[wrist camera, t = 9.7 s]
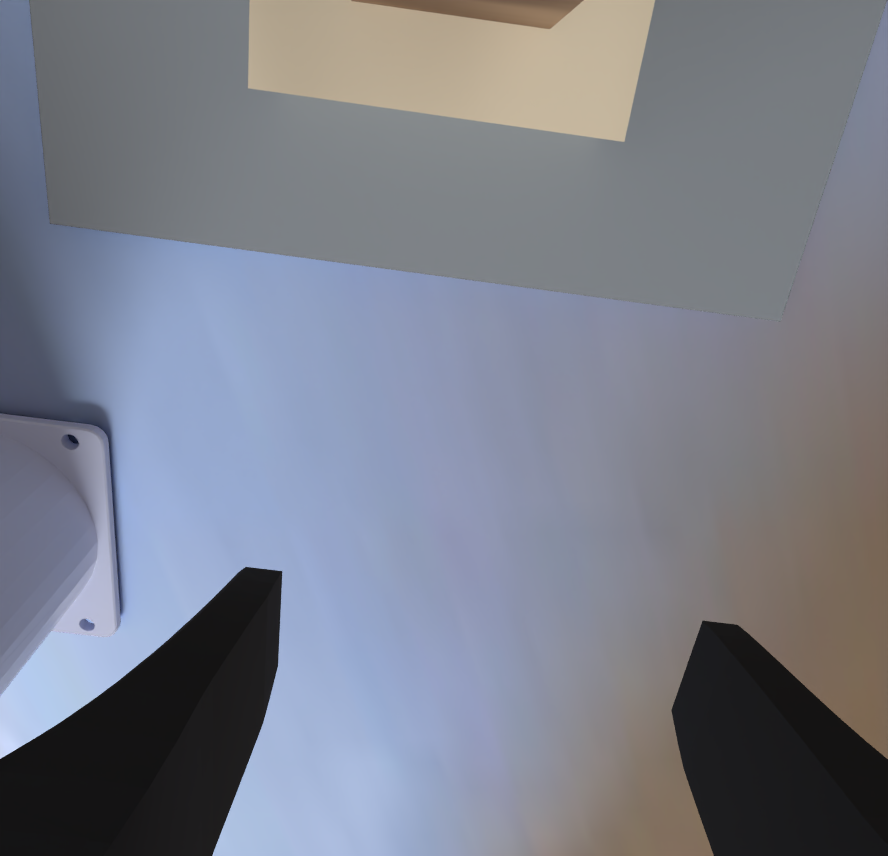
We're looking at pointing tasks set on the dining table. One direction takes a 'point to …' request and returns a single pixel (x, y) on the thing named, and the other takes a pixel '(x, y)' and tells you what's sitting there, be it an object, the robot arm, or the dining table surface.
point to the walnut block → (492, 9)
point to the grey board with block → (462, 136)
